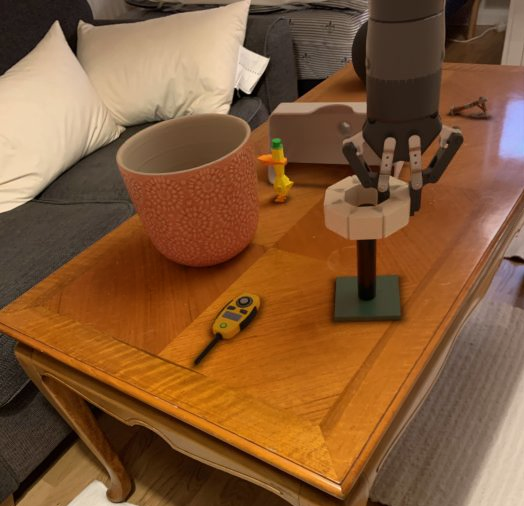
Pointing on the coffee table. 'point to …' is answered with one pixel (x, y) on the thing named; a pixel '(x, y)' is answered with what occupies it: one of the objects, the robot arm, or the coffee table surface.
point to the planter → (194, 186)
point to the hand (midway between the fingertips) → (398, 213)
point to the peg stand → (367, 289)
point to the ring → (365, 209)
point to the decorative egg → (360, 51)
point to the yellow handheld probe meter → (233, 319)
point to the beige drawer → (318, 132)
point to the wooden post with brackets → (471, 105)
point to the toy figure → (278, 169)
